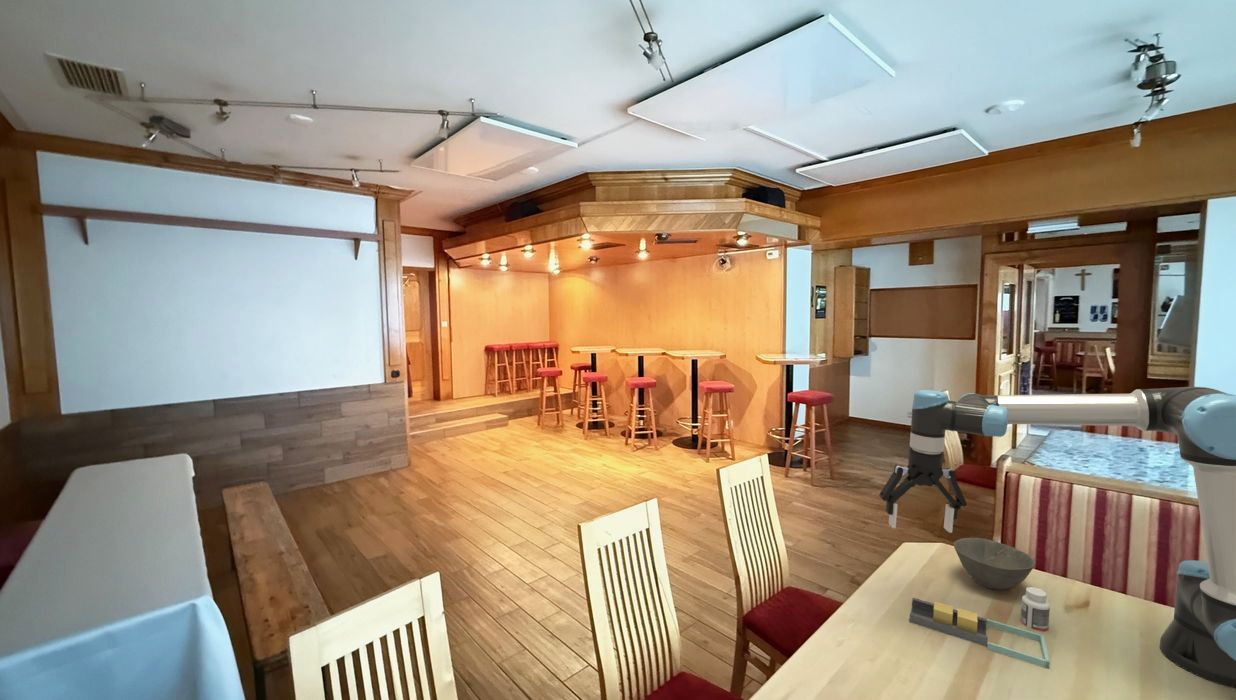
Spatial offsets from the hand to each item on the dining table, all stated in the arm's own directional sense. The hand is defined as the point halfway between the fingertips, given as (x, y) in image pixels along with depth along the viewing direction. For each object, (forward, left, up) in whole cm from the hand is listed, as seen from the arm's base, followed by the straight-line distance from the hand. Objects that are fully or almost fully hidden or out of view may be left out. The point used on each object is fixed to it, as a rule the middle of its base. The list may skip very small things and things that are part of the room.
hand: (919, 528), depth 128 cm
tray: (-20, +2, -24) cm, 31 cm away
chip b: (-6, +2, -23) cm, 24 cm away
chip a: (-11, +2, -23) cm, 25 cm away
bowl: (-17, -28, -24) cm, 41 cm away
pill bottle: (-25, -10, -24) cm, 36 cm away
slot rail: (-7, +2, -24) cm, 25 cm away
